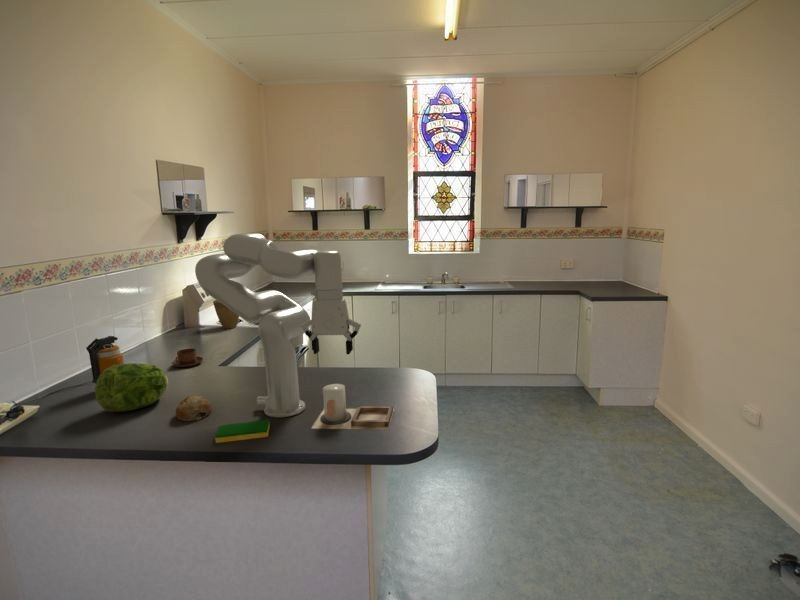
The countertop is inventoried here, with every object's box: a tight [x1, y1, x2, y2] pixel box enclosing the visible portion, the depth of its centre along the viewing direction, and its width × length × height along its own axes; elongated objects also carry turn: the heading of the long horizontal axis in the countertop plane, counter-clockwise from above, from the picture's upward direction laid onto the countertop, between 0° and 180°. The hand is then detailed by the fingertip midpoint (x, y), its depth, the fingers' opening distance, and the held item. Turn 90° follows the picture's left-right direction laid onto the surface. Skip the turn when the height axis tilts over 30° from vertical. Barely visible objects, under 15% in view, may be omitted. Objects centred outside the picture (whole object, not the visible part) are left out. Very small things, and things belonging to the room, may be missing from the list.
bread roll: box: [175, 395, 213, 422], centre depth 147 cm, size 10×10×8 cm
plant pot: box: [212, 299, 240, 329], centre depth 269 cm, size 15×15×16 cm
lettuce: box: [94, 362, 169, 413], centre depth 156 cm, size 16×21×15 cm
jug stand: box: [310, 405, 395, 431], centre depth 139 cm, size 22×14×2 cm, turn 84°
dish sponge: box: [214, 419, 270, 444], centre depth 133 cm, size 7×14×2 cm, turn 101°
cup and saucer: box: [171, 348, 204, 368], centre depth 201 cm, size 12×12×6 cm
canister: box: [85, 335, 125, 384], centre depth 171 cm, size 9×11×20 cm
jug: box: [322, 383, 347, 421], centre depth 137 cm, size 9×6×9 cm
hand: (332, 352), depth 137 cm, fingers open, 9 cm apart
